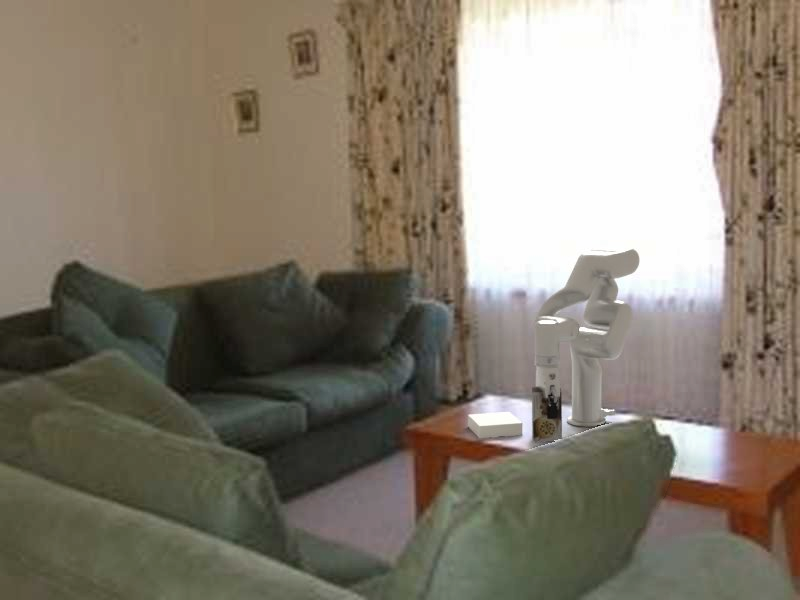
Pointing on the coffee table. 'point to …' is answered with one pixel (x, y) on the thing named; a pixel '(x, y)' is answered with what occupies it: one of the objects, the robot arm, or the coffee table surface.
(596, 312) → the robot arm
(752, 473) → the coffee table surface
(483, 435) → the riser block
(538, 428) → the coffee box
